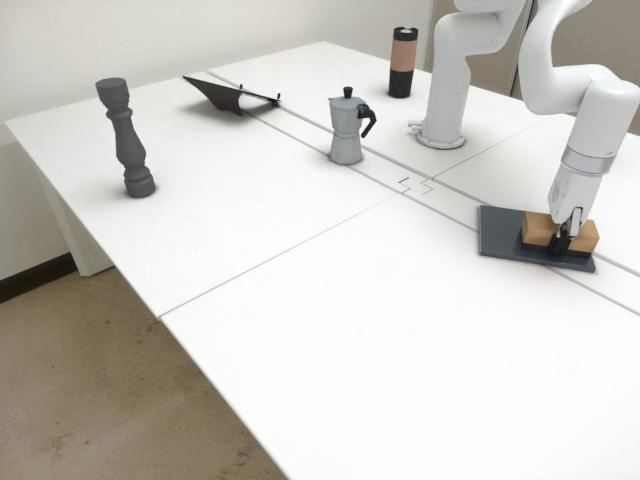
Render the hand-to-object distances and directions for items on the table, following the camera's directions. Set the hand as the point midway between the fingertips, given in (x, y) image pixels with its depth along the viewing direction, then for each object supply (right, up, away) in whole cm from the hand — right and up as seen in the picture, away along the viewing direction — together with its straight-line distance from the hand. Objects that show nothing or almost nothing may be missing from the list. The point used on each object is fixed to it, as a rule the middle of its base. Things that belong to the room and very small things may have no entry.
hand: (553, 241), depth 87 cm
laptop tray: (-70, +42, +56) cm, 99 cm away
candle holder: (-86, +12, +18) cm, 88 cm away
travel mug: (-18, +48, +64) cm, 82 cm away
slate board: (-3, +1, +4) cm, 5 cm away
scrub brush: (0, -1, 0) cm, 1 cm away
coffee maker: (-37, +21, +30) cm, 52 cm away
